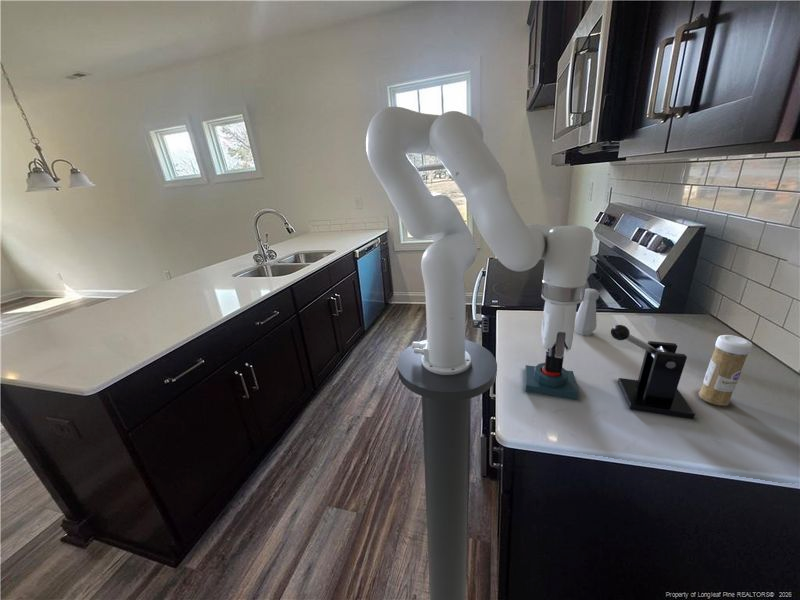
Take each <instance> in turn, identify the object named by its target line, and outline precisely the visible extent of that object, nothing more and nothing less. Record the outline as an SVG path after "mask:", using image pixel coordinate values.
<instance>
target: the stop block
mask: <svg viewBox="0 0 800 600" xmlns="http://www.w3.org/2000/svg"><path fill="white" fill-rule="evenodd" d="M524 366H525V367H524V387H525V390H524V391H525V392H526V393H533V394H537V395H545V396H551V397H557V398H558V397H559V398H565V399H572V400H578V398H579V390H578V389H579V388H578V386H577V382H576V378H575V374H574V371H573V370H568V369H567V370H566V368H564V367H563V366H562V372H561V373H560V376H558V377H551V376H547V375H545V374H543V373H542V368H543V366H545V362H541V363H537V365H529V364H526V365H524Z"/></svg>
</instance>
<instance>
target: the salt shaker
mask: <svg viewBox="0 0 800 600" xmlns="http://www.w3.org/2000/svg"><path fill="white" fill-rule="evenodd" d="M599 297H600V292H599V290H598V289H595V288H589V287H587V288H585V294H584V301H583V302H581V303H579V304H580V305H579V307H578V310H577V311H576V318H575V326H574V331H575V334H578V335H580V336H590V335H592V334H593V332H594V331H595V330H597V326H598V325H597V300H599Z"/></svg>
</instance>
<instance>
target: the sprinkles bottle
mask: <svg viewBox="0 0 800 600" xmlns="http://www.w3.org/2000/svg"><path fill="white" fill-rule="evenodd" d="M714 345H715V348H714V351H713V353H712V356H711V358H710V361H709V364H708V366H707V370H706V372H705V375H704V378H703V382H702V386H701V388H700V390H699V392H698V396H699V398H700V399H702V400H703V401H705V402H707V403H709V404H710V405H714V406H719V407H720V406H721V407H726V406H729V405H730V402H731V398H732V395H733V392H734V391H735V389H736V387H737V384H738V381H739V379H740V377H741V374H742V370H743V368H744V365H745V362H746V361H747V360H746V359H747V357H748V356H749V354H751V351H752V348H753V343H752V342H751V341H750V340H748V339H746V338H743V337H742V336H741V337H740V336H737V335H732V334H722V335H719V336H718V337H717V339H716V341H715V344H714Z"/></svg>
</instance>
